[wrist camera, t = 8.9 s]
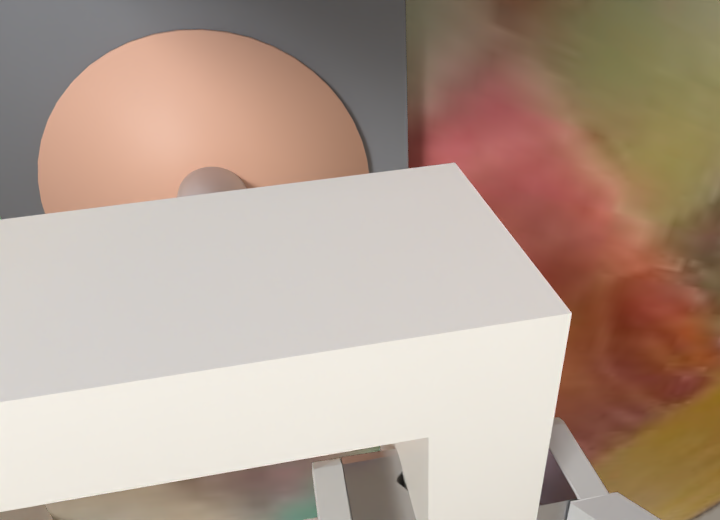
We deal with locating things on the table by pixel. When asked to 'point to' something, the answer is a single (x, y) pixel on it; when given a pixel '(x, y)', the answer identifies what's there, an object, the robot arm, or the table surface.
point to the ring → (279, 342)
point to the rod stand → (194, 97)
